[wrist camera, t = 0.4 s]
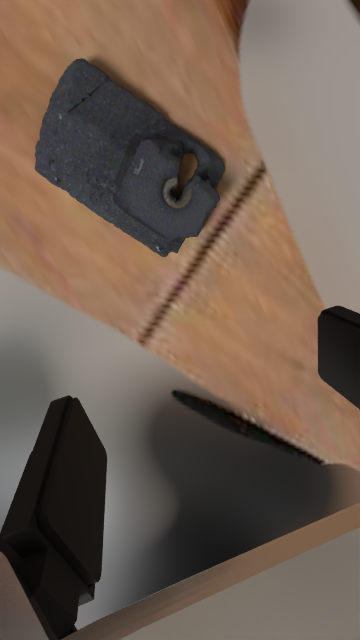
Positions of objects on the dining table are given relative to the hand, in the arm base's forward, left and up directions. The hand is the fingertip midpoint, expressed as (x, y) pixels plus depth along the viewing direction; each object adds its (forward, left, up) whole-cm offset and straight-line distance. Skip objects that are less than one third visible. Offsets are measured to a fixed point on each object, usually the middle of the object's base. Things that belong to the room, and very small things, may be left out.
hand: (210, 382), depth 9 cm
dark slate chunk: (-11, +2, -31) cm, 33 cm away
